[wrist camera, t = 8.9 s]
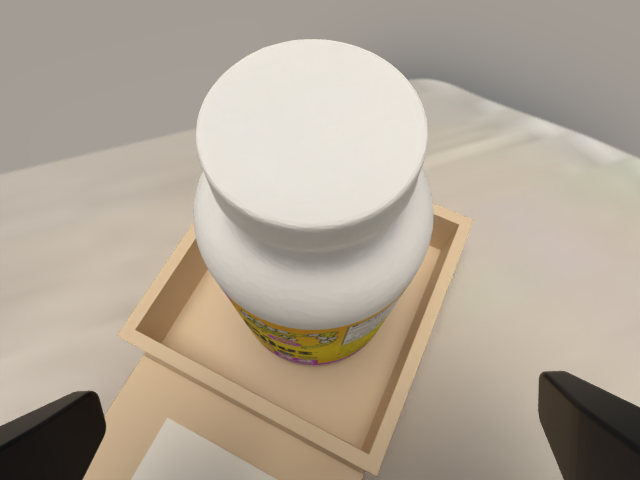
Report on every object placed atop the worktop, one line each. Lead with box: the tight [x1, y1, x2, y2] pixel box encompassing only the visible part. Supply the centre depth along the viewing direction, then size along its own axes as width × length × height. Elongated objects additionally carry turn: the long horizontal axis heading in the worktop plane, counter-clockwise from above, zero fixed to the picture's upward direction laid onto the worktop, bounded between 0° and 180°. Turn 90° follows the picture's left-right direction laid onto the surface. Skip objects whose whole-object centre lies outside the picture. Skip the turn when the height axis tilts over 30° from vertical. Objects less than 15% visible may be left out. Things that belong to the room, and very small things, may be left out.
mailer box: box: [83, 203, 474, 480], centre depth 18 cm, size 18×11×4 cm, turn 154°
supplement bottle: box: [193, 39, 434, 366], centre depth 14 cm, size 7×7×13 cm
